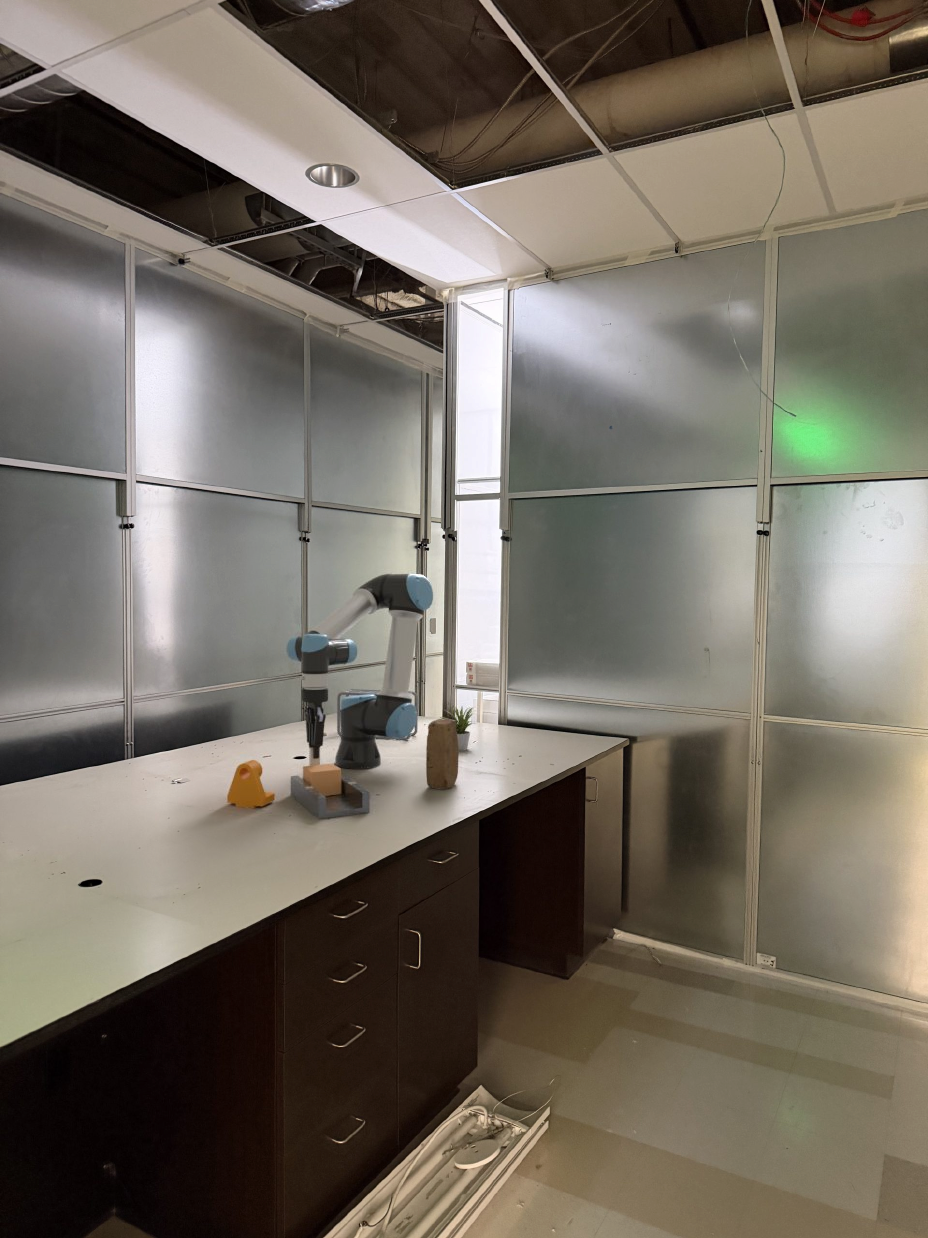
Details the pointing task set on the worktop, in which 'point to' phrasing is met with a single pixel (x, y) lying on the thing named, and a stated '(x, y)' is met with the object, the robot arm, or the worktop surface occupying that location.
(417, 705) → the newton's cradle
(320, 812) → the chute
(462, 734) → the house plant
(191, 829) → the worktop surface
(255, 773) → the bracket
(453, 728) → the block
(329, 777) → the slider block
